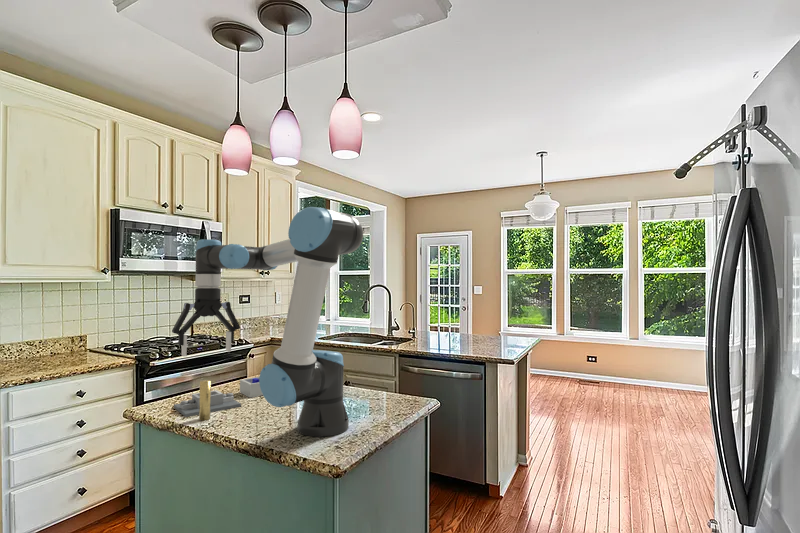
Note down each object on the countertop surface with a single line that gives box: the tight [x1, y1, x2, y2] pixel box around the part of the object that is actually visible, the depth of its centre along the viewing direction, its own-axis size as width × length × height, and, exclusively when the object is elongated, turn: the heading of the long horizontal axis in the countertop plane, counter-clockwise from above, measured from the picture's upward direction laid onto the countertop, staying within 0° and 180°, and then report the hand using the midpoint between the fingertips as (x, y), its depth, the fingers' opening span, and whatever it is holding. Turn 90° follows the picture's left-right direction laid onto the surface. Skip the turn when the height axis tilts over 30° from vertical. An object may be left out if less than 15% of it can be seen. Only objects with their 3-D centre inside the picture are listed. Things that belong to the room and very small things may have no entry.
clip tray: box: [239, 376, 263, 398], centre depth 171 cm, size 10×18×5 cm, turn 132°
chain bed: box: [173, 390, 242, 418], centre depth 150 cm, size 14×18×4 cm
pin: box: [198, 379, 212, 422], centre depth 137 cm, size 3×3×12 cm
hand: (206, 353), depth 138 cm, fingers open, 13 cm apart
